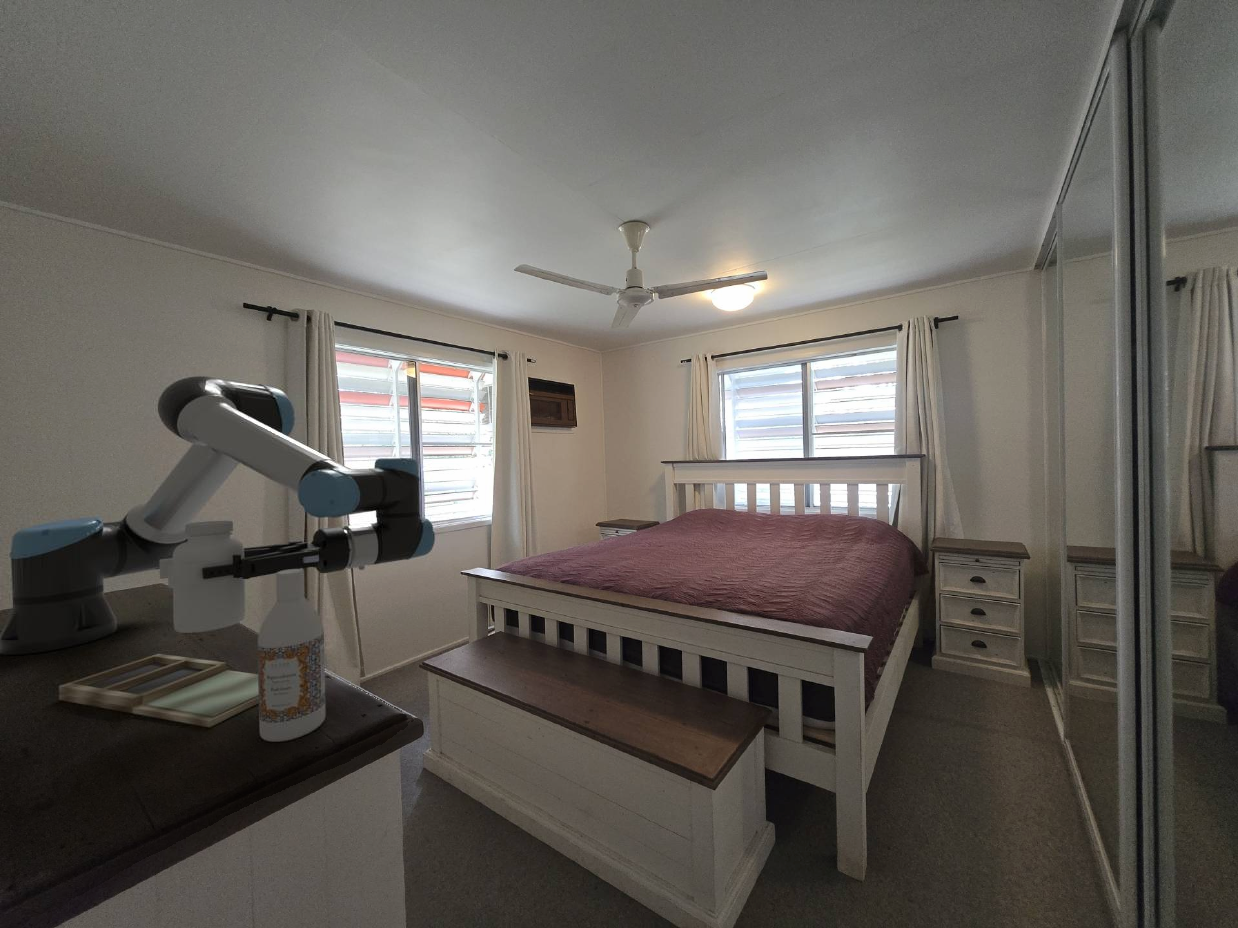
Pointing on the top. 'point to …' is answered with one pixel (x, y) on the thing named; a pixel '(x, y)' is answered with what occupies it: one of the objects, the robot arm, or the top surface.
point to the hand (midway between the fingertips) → (164, 573)
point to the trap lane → (168, 689)
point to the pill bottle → (213, 599)
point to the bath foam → (291, 663)
